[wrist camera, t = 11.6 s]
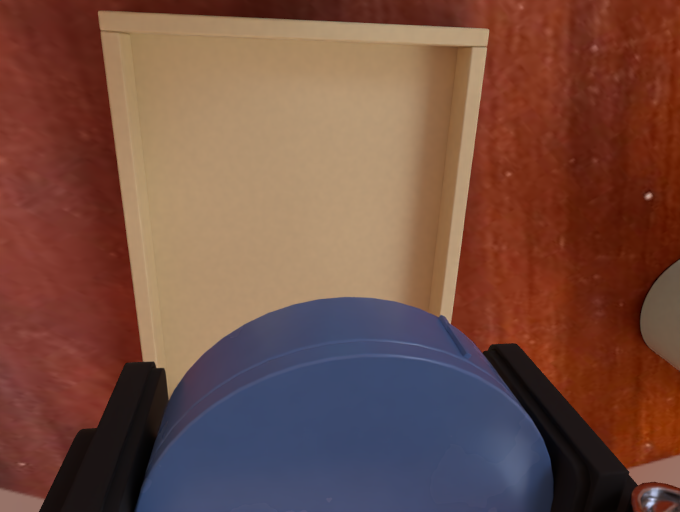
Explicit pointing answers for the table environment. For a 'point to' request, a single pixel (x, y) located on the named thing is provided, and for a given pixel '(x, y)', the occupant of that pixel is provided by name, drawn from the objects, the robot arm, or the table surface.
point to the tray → (286, 166)
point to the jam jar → (663, 316)
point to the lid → (346, 420)
